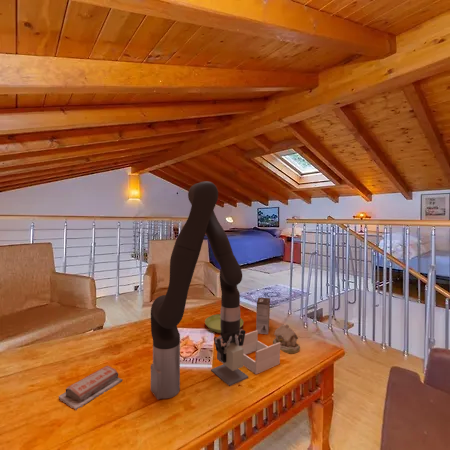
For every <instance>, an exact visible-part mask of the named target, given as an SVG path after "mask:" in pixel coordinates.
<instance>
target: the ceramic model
mask: <svg viewBox="0 0 450 450" xmlns="http://www.w3.org/2000/svg"><path fill="white" fill-rule="evenodd" d="M274 336H275V338H274V339H273V340H272V345H273V344H276V343H279V342H280V351H282V352H284V353H287V354H296V353H298V352H300V351H301V350H300V349H301V345H299V344H298V343H297V340H298V339H299V336H298V335H297V333H296V331H295V332H294V330H293V328H291V327H290V326H289V325H288V324H281V325H280V326H278V328H276V329H275V331H274Z"/></svg>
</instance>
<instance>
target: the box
mask: <svg viewBox="0 0 450 450" xmlns="http://www.w3.org/2000/svg"><path fill="white" fill-rule="evenodd" d="M221 342H222V340H221ZM225 344H226V343H225ZM216 359H217V360H218V361H219V362H220V363H221V364H222V365H223V364H224V365H225V366H227V367H228V368H229V369H231V370H232V371H234V370H236V369H239V370H240V368H244V365H243V348H241V347H240V346H238V345H236V344H235V343H230V344H229V348H227V352H226V362H225V363H224V362H223V361H222V360H221V354H220V353H219V352H218V351H216Z"/></svg>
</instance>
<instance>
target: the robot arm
mask: <svg viewBox="0 0 450 450" xmlns="http://www.w3.org/2000/svg"><path fill="white" fill-rule="evenodd" d="M187 198H188V200H189V203H190V205H191V206H190V210H189V215H188V217H187V219H186V221H185V223H184V225H183V226H182V228H181V230H180V231H179V233H178V236H177V237H176V239H175V242H174V246H173V249H172V251H171V254H170V259H169V280H168V281H169V282H168V287H167V290H166V294H162V295H159V296H158V297H156V298H155V299H154V301H152V304H151V308H150V334H151V337H152V338H151V339H152V363H151V364H150V392H151V393H152V394H153V396H154V397H155V398H156V400H163V399H165V400H166V399H171V398H173V397H175V396H177V395H178V394H179V393H180V389H181V387H180V386H181V379H180V377H181V334H180V332H179V329H178V325H179V324H180V323H181V322H182V319H183V317H184V314H185V309H186V303H187V299H188V298H187V297H188V293H189V289H190V286H191V282H192V280H193V275H194V273H195V270H196V269H195V268H196V266H197V263H198V260H199V257H200V254H201V250H202V245H203V243H204V239H205V236H206V237H207V239H208V242H209V246H210V248H211V251H212V253H213V256H214V259H215V260H216V262H217V263H218V264H219V266H220V270H219V283H220V284H219V285H220V291H221V296H220V297H221V302H220V303H221V305H220V306H221V307H220V314H221V324H220V327H221V333H219V336H214V338H213V341H214V346H215V350H216V352H217V351H218V352H219V353H220V354H221V360H222V361H223V362H224V363H225V362H226V352H227V348H229V344H230V343H235V344H236V345H238V346H243V343H244V337H245V334H246V333H247V332H246V330H244V329H243V328H240V318H241V305H240V303H241V301H240V300H241V294H240V291H239V289H238V285H240V283H241V282H242V280H243V272H242V269H241V266H240V264H239V262H238V259H237V258H236V255H234V251H233V248H232V246H231V242H230V239H229V237H228V235H227V233H226V232H225V230H224V228H223V226H222V225H221V223H220V222H219V219H218V218H217V215H216V213H215V210H214V209H215V208H216V205H217V203H218V199H219V191H218V187H217V185H216V184H214V182H212V181H206V180H205V181H200V182H198V183H194V184H193V185H191V186H190V188H189V190H188V192H187ZM240 340H241V342H240ZM221 341H222V342H221ZM225 343H226V344H225Z"/></svg>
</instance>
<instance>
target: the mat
mask: <svg viewBox="0 0 450 450" xmlns="http://www.w3.org/2000/svg"><path fill="white" fill-rule="evenodd" d="M210 371H211V372H212V373H213V374H214V375H215V376H217V378H219V379H220V380H221V381H223V382H224V383H225V385H227V386H228V387H231V386H233V385H236V384H238V383H240V382H242V381H244V380H246V379H247V380H248V379H249V376H248V375H247V374H246V373H245V372H243V371H242V370H240V368H239V369H236V370H234V371H232V370H231V369H229V368H228V367H227V366H225V365H224V364H223V363H222V364H221V365H219V366H216V367H214V368H210Z"/></svg>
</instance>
